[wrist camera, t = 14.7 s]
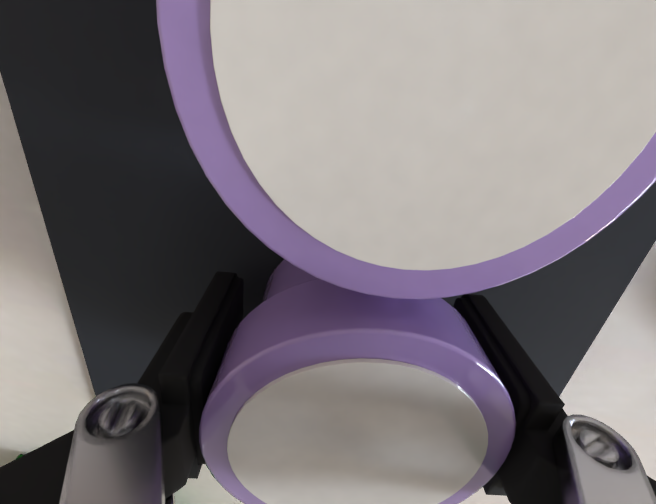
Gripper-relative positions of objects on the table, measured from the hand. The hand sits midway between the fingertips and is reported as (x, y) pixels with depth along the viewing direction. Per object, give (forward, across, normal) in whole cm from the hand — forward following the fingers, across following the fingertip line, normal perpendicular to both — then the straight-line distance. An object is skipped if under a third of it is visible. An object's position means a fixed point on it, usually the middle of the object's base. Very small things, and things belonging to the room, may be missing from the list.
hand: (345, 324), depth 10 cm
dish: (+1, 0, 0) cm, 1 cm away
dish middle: (+1, 0, -7) cm, 7 cm away
